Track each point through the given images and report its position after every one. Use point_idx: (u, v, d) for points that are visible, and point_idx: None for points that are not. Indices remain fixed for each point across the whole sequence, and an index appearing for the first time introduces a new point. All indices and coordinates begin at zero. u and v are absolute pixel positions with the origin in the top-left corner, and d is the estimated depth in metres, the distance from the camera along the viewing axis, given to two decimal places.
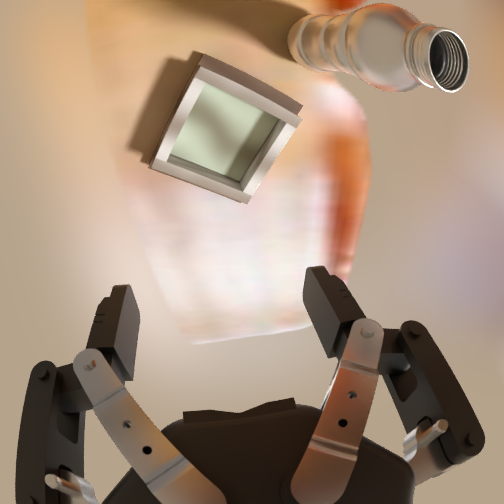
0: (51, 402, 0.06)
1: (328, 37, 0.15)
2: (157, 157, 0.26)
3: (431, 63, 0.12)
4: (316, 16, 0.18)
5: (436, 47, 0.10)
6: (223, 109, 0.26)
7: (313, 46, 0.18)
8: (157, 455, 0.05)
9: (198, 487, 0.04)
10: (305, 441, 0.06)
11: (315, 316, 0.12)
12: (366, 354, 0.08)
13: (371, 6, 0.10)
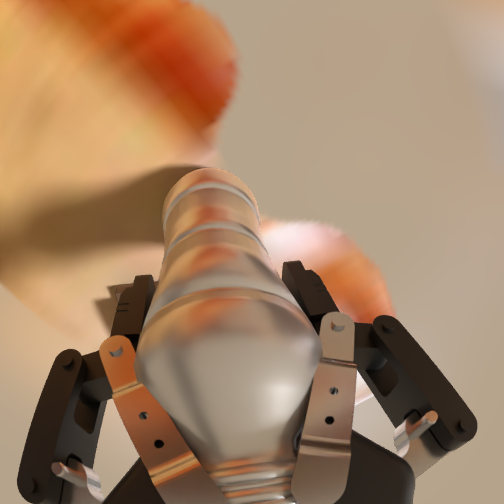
0: (71, 392, 0.06)
1: None
2: None
3: None
4: (168, 210, 0.16)
5: (278, 434, 0.06)
6: None
7: None
8: (157, 455, 0.05)
9: (198, 487, 0.04)
10: None
11: None
12: (340, 347, 0.08)
13: (135, 369, 0.07)
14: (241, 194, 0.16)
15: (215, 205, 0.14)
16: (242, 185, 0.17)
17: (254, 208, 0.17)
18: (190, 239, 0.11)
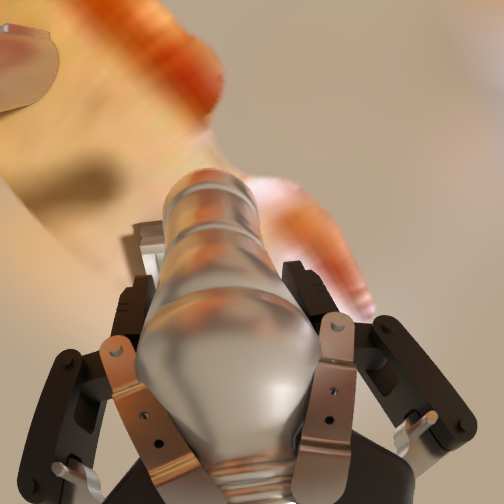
0: (71, 392, 0.06)
1: None
2: None
3: None
4: (168, 210, 0.16)
5: (278, 433, 0.06)
6: None
7: None
8: (157, 455, 0.05)
9: (198, 487, 0.04)
10: (295, 443, 0.06)
11: None
12: (340, 347, 0.08)
13: (135, 369, 0.07)
14: (241, 194, 0.16)
15: (215, 205, 0.14)
16: (242, 185, 0.17)
17: (254, 208, 0.17)
18: (190, 239, 0.11)
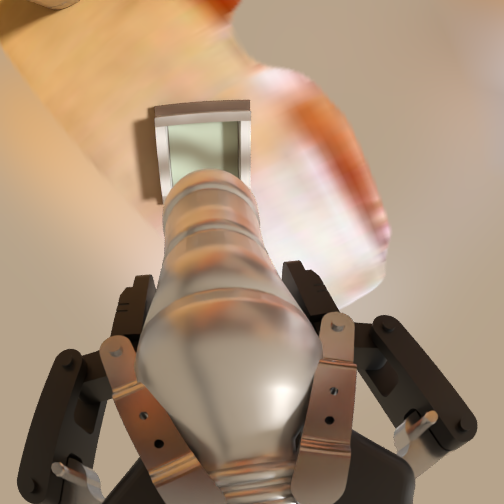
0: (71, 392, 0.06)
1: None
2: (163, 195, 0.34)
3: None
4: (168, 210, 0.16)
5: (278, 434, 0.06)
6: (192, 137, 0.33)
7: None
8: (157, 455, 0.05)
9: (198, 487, 0.04)
10: (295, 443, 0.06)
11: None
12: (340, 347, 0.08)
13: (135, 370, 0.07)
14: (241, 195, 0.16)
15: (215, 206, 0.14)
16: (242, 185, 0.17)
17: (254, 208, 0.17)
18: (190, 240, 0.11)
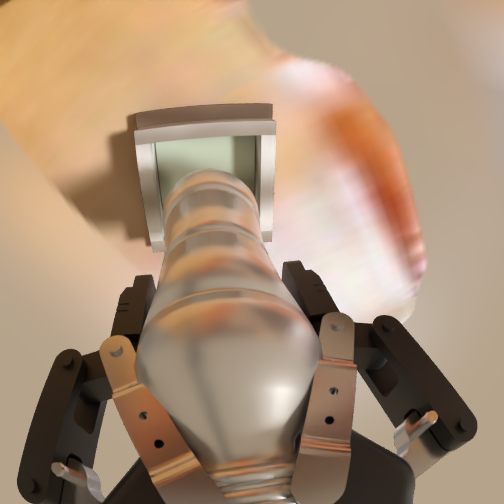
0: (71, 392, 0.06)
1: None
2: (152, 240, 0.25)
3: None
4: (168, 210, 0.16)
5: (278, 435, 0.06)
6: (190, 157, 0.23)
7: None
8: (157, 455, 0.05)
9: (198, 487, 0.04)
10: (295, 443, 0.06)
11: None
12: (340, 347, 0.08)
13: (135, 370, 0.07)
14: (241, 195, 0.16)
15: (215, 206, 0.14)
16: (242, 186, 0.17)
17: (254, 209, 0.17)
18: (190, 240, 0.11)
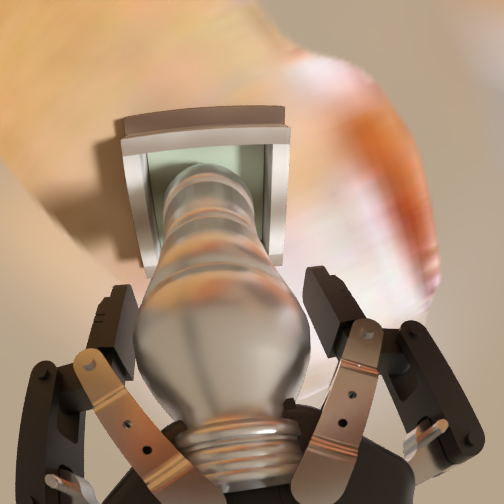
0: (51, 402, 0.06)
1: None
2: (145, 265, 0.21)
3: None
4: (167, 202, 0.17)
5: (262, 396, 0.07)
6: None
7: None
8: (157, 455, 0.05)
9: (198, 487, 0.04)
10: (305, 441, 0.06)
11: (315, 316, 0.12)
12: (366, 353, 0.08)
13: (133, 340, 0.08)
14: (236, 187, 0.17)
15: (211, 196, 0.14)
16: (237, 178, 0.18)
17: (248, 200, 0.18)
18: (187, 225, 0.12)
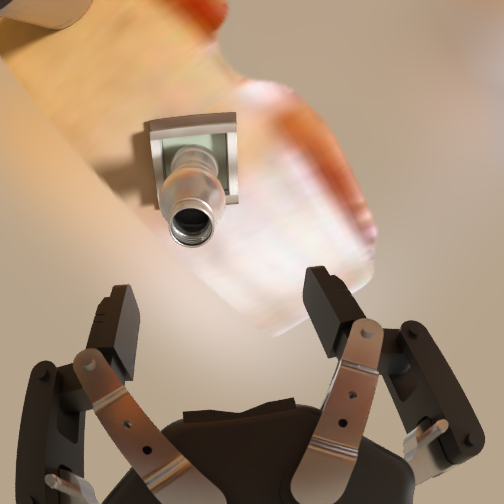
0: (51, 402, 0.06)
1: None
2: None
3: (216, 193, 0.24)
4: (173, 161, 0.33)
5: (199, 197, 0.23)
6: None
7: None
8: (157, 455, 0.05)
9: (198, 487, 0.04)
10: (305, 441, 0.06)
11: (315, 316, 0.12)
12: (366, 354, 0.08)
13: (159, 193, 0.25)
14: (207, 153, 0.33)
15: (193, 155, 0.31)
16: (208, 150, 0.34)
17: (213, 160, 0.34)
18: (182, 163, 0.28)
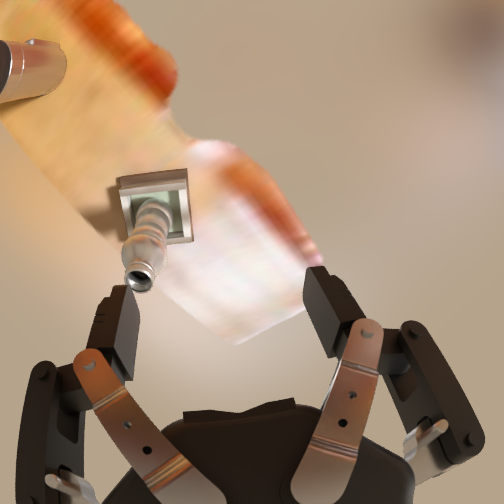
0: (51, 402, 0.06)
1: None
2: None
3: (158, 253, 0.34)
4: (137, 215, 0.43)
5: (144, 259, 0.33)
6: None
7: None
8: (157, 455, 0.05)
9: (198, 487, 0.04)
10: (305, 441, 0.06)
11: (315, 316, 0.12)
12: (367, 354, 0.08)
13: (121, 252, 0.34)
14: (161, 209, 0.43)
15: (149, 214, 0.41)
16: (164, 205, 0.44)
17: (167, 214, 0.44)
18: (139, 224, 0.38)
